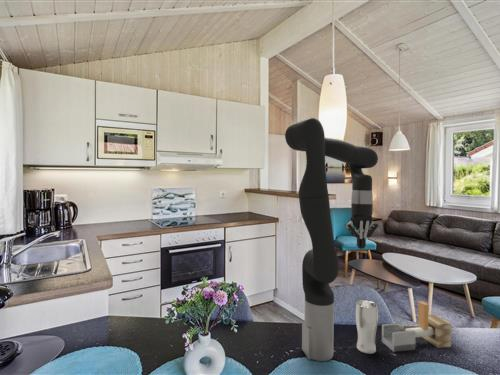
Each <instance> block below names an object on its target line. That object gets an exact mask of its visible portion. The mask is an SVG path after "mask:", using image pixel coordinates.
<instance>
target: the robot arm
mask: <svg viewBox="0 0 500 375" xmlns="http://www.w3.org/2000/svg"><path fill="white" fill-rule="evenodd" d="M284 140H285V141H286V144H287V145H288V147H289V148H291V149H292V150H294V151H297V152H298V151H299V152H305V158H306V159H305V160H306V163H305V164H306V165H305V169H304V173H303V176H302V179H301V182H300V185H299V188H298V202H299V209H300V214H301V217H302V220H303V222H304V225H305V228H306V229H307V232H308V235H309V238H310V241H311V248H312V249H310V250H308V251H307V252H306V253H304V256H303V259H302V264H301V266H302V267H301V270H302V273H301V276H302V290H303V293H304V320H302V321H301V322H302V323H301V350H302V351H303V352H302V353H304V354H305V356H306V358H307V359H308V360H313V361H316V362H327V361H330V360H331V359H333V358H334V330H335V329H334V325H335V324H334V323H335V320H334V319H335V312H334V311H335V294H334V291H333V289H332V288H331V286H330V284H331V283H333V282H334V281H335V280H337V277H338V275H339V270H340V263H339V258H338V253H337V249H336V246H335V245H336V244H335V238H334V236H333V233H334V232H333V226H332V225H333V224H332V218H331V208H330V205H331V204H330V196H329V190H328V183H327V170H326V169H327V168H326V157H327V158H331V159H333V160H337V161H339V162H342V163H345V164H348V168H349V173H350V176H351V181H352V184H351V190H352V191H351V201H350V202H351V205H350V206H351V210H350V211H351V212H350V214H351V217H350V220H349V222H348V223H346V222H345V224H344V226H345V227H346V229H347V230H348V232H349V233H350V235H351V236H352V237H354V238H356V247H357V248H358V249H359V250H363V249H365V247H366V246H367V245H366V244H367V243H366V239H367V238H370V237H371V238H372V235H374V233H375V231H376V230H377V228H378V227H379V224H378V223H375V222H374V219H373V213H374V212H373V208H374V207H373V201H374V198H373V197H374V196H373V177H372V176H371V175H369V174H365V173H364V171H363V170H362V169H371V168H373V167H375V166H376V165H377V163H378V162H379V157H378V154H377V152H376V151H375V150H374V149H372V148H369V147H367V146H359V145H355V144H353V143H350V142H349V141H346V140H343V139H339V138H332V137H326V136H325V131H324V126H323V124H322V123H321V121H320V120H319V119H318V118H315V117H309V118H306V119H304V120H299V121H296V122H294V123H292V124H291V125H289V126H288V127H287V128H286V130H285V133H284Z"/></svg>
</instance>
